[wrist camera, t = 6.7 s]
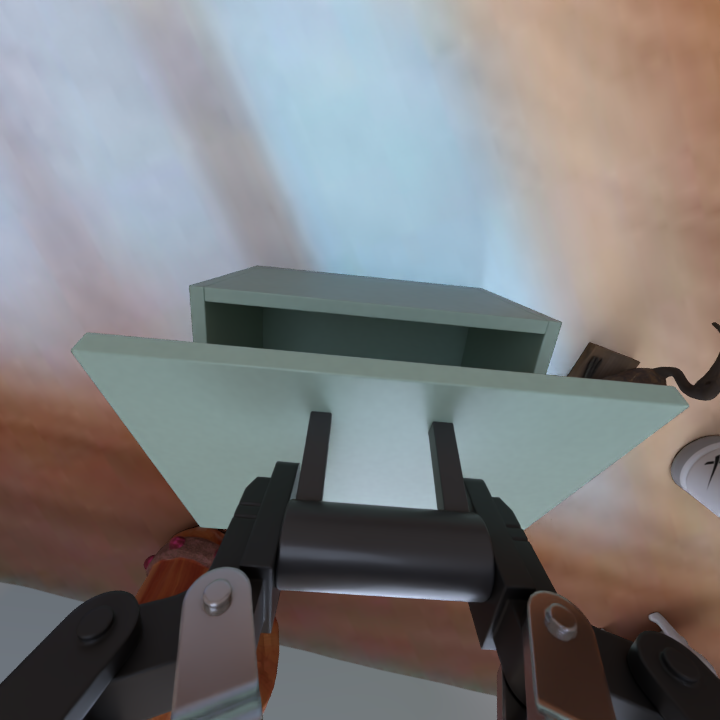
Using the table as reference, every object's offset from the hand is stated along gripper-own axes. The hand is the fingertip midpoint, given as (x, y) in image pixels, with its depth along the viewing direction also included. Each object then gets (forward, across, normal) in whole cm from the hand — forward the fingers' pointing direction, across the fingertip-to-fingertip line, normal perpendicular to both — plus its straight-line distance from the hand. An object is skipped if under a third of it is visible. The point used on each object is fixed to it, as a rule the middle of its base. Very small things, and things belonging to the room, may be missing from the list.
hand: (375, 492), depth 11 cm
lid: (+4, 0, +2) cm, 5 cm away
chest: (+18, 0, +2) cm, 19 cm away
